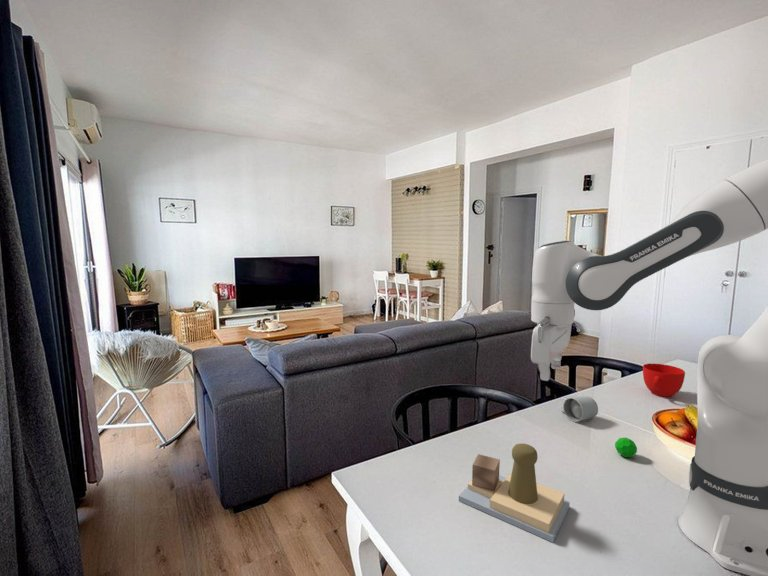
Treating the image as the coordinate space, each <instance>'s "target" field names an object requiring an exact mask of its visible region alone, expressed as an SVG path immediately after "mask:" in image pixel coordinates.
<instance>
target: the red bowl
mask: <svg viewBox="0 0 768 576" xmlns="http://www.w3.org/2000/svg"><path fill="white" fill-rule="evenodd" d="M642 376H643V382H644V384H645V386H646V388H647V389H648V390H649V392H650V393H651V394H653V395H655V396H656V397H662V398H672V397H673V396H674V395H676V394H677V393H679V391H680V390H681V389H682V386H683V384H684V381H685V377H686V372H685V370H684V369H682V368H679V367H677V366H673V365H668V364H662V363H646V364H643V365H642Z"/></svg>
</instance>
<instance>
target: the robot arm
mask: <svg viewBox="0 0 768 576" xmlns="http://www.w3.org/2000/svg"><path fill="white" fill-rule="evenodd" d="M766 230H768V158H767V159H765V160H762V161H760V162H757V163H755V164H752V165H751V166H749V167H746V168H744V169H742V170H739V171H738V172H735V173H734V174H732V175H731V176H728V177H726V178H725V179H723V180H721V181H719V182H717V183H716V184H713V185H712V186H710V187H709V188H708V189H706V190H704V191H703V192H701V193H699V194H698V195H697V196H696V197H694V198H693V199H691V200H690V201H688V203H687V204H685V205H684V206H683V207H682V208H681V210H680V211H679V213H678V214H677V215H676V216H675V217H674V218H673V219H672V220H671V221H670V222H668V223H667V224H666V225H665V226H663V227H661V228H660V229H659V230H657V231H655V232H654V233H652V234H650V235H648V236H646V237H644V238H642V239H641V240H640V239H639V241H637V242H635V243H633V244H631V245H629V246H628V247H626V248H623V249H621V250H619V251H617V252H615V253H612V254H608V255H601V254H597V253H594V252H591V251H589V250H587V249H584V248H582V247H580V246H578V245H577V244H575V243H574V242H573V241H570V240H561V241H555V242H549V243H546V244H542V245H541V246H539V247H537V249H536V250H535V252H534V256H533V262H532V269H531V270H532V273H531V275H532V276H531V283H532V287H533V293H532V296H531V307H530V308H531V309H530V310H531V311H530V313H531V315H530V319H531V321H532V322H533V323H535V324H536V326H535V327H534V328H533V330H532V335H531V347H530V360H531V362H532V363H533V364H537V365H538V369H539V377H540V380H541V381H545V382H549V381H550V379H551V369H553V370H559V369H560V368H561V362H562V361H561V360H562V357H563V351H565V349H566V348H567V347H568V346H569V345H570V340H571V334H572V333H571V332H572V325H573V324H574V323H575V316H576V310H575V304H576V305H577V306H578V307H580V308H583V309H585V310H588V311H589V310H590V311H604V310H606V309H607V310H608V309H609V308H612V307H614V306H615V305H616V304H617V303H619V302H620V301H621V300H622V299H623V297H624V296H625V295H626V294H627V293H628V292H629V290H630V289H631V288H632V287H633V286H634V285H636V284H637V283H639V282H641V281H642V280H645V279H646V278H648V277H650V276H652V275H654V274H657V273H658V272H660V271H661V270H665V269H666V268H668V267H669V266H672V265H674V264H676V263H679V262H680V261H682V260H684V259H685V258H689V257H692V256H694V255H697V254H700V253H705V252H708V251H713V250H716V249H719V248H723V247H727V246H729V245H732V244H735V243H738V242H741V241H742V240H747V239H749V238H751V237H753V236H756V235H757V234H760V233H762V232H764V231H766ZM550 368H551V369H550ZM696 376H697V382H696V383H697V384H696V386H697V390H696V391H697V393H696V394H697V397H696V398H697V399H696V400H697V401H696V402H697V403H696V404H697V405H696V407H697V425H696V436H695V438H696V439H695V449H694V450H695V451H694V456H693V457H692V458H691V461H690V462H691V463H690V466H689V472H688V475H689V476H688V483H689V491H688V492H689V493H688V495H687V500H686V502H685V505H684V508H683V510H682V512H681V514H680V515H679V517H678V521H677V522H678V526H679V528H680V530H681V531H682V532H683V534H684V535H685V536H686V537H687V538H688V539H689V540H690V541H691V542H693V544H696V546H697V547H699V548H701V549H702V550H703V551H705V552H706V553H708V554H709V555H710V556H711V557H712V558H713V559H714V560H715V561H716V562H717V563H718V564H719V565H720V566H722V567H723V568H724V569H727V570H729V571H732V572H736V573H739V574H743V575H746V576H768V304H767V305H766V306H765V307H764V310H763V311H762V313H761V314H760V315H759V317H758V318H757V319H756V320H755V321H754V322H753V323H752V325H751V326H750V327H749V328H748V329H747V330H746V332H744V334H743V335H738V334H721V335H716V336H713V337H711V338H709V339H708V340H706V341H705V342H704V343H703V344H702V346H701V347H700V349H699V353H698V356H697V375H696Z"/></svg>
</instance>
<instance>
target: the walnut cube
mask: <svg viewBox="0 0 768 576" xmlns="http://www.w3.org/2000/svg"><path fill="white" fill-rule="evenodd" d="M500 462H501V460H500V459H498V458H496V457H495V458H494V457H492V456H487V455H483V454H480V453H478V454H477V456H476V457H475V460H474V461H473V463H472V470H471V471H472V472H471V475H472V476H471V480H472V485H473V486H476V487H480V488H483V489H487V490H490V491H493V492H494V491H495V489H496V486H497V484H498V481H499V475H500Z"/></svg>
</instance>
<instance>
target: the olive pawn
mask: <svg viewBox="0 0 768 576" xmlns="http://www.w3.org/2000/svg"><path fill="white" fill-rule="evenodd" d="M511 457H512V460H513V463H512V470H511V474H512V475H511V480H510V486H509V492H508V494H509V496H510V497H511V498H512V499H513V500H515V501H517V502H519V503H523V504H533V503H535V502H536V501H537V500H538V495H537V485H536V483H537V476H536V467H535V464H536V463H537V461H538V451H537V449H535V447H533V446H532V445H530V444H527V443H517V444H514V446H513V447H512V449H511Z"/></svg>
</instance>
